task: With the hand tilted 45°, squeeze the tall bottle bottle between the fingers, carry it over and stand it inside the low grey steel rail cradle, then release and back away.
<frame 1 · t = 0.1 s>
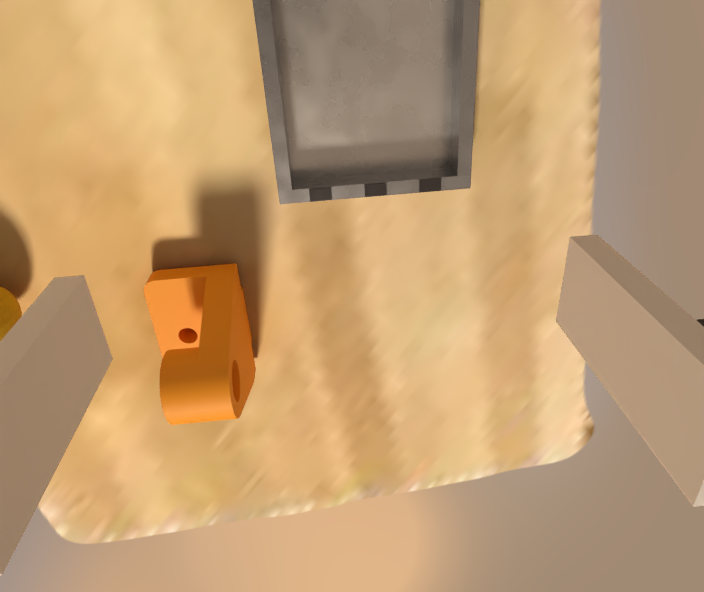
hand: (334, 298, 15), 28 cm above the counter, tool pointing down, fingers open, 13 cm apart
bracket: (206, 316, 47), on the counter
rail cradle: (366, 87, 39), on the counter
lemon: (3, 294, 45), on the counter
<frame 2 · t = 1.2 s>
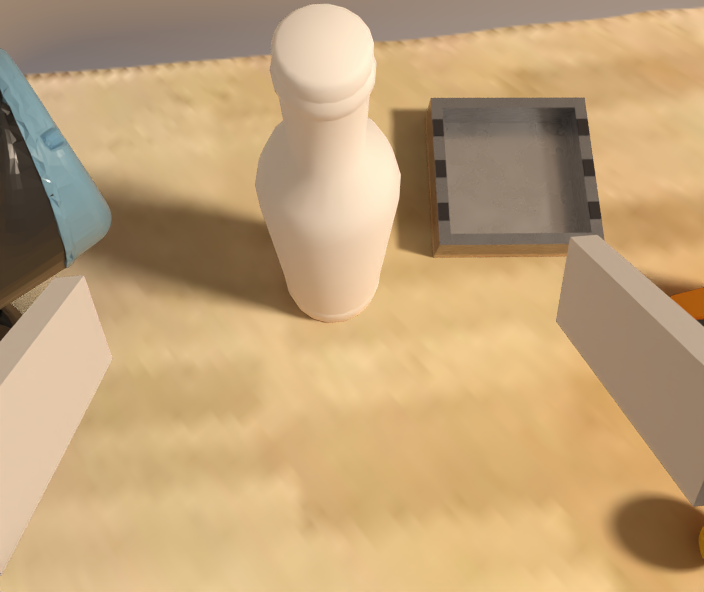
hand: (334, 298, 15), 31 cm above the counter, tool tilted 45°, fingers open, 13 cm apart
bottle: (332, 280, 48), on the counter
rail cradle: (503, 185, 50), on the counter
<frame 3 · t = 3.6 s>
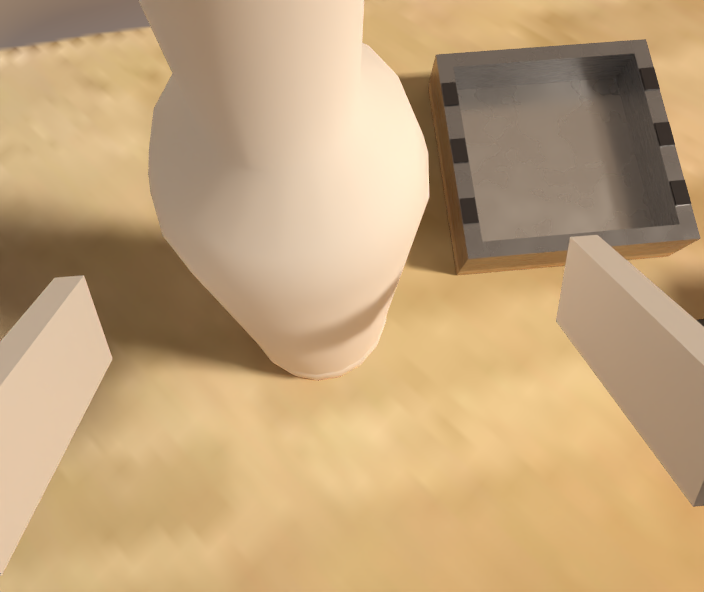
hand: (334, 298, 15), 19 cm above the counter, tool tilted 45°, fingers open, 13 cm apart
bottle: (320, 319, 34), on the counter
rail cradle: (543, 168, 37), on the counter
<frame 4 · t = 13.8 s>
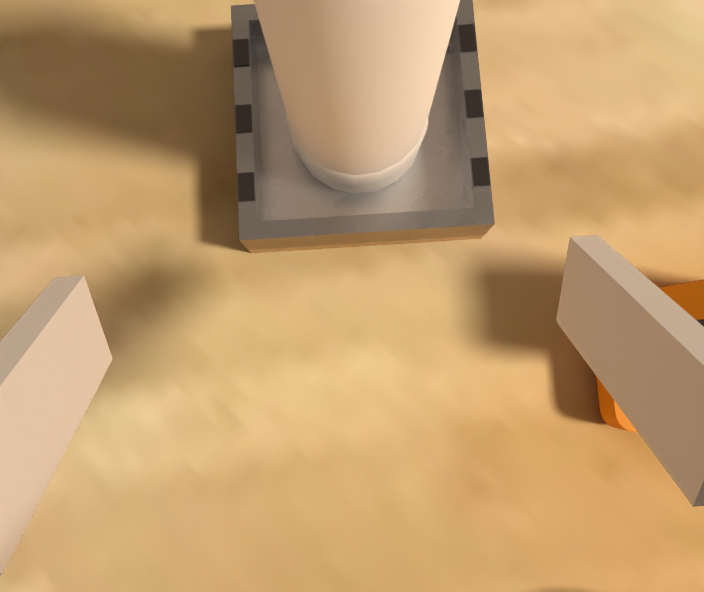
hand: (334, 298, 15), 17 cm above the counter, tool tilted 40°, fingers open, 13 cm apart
bottle: (357, 134, 33), point 1 cm above the counter, touching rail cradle
bracket: (678, 359, 32), on the counter
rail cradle: (358, 136, 34), on the counter
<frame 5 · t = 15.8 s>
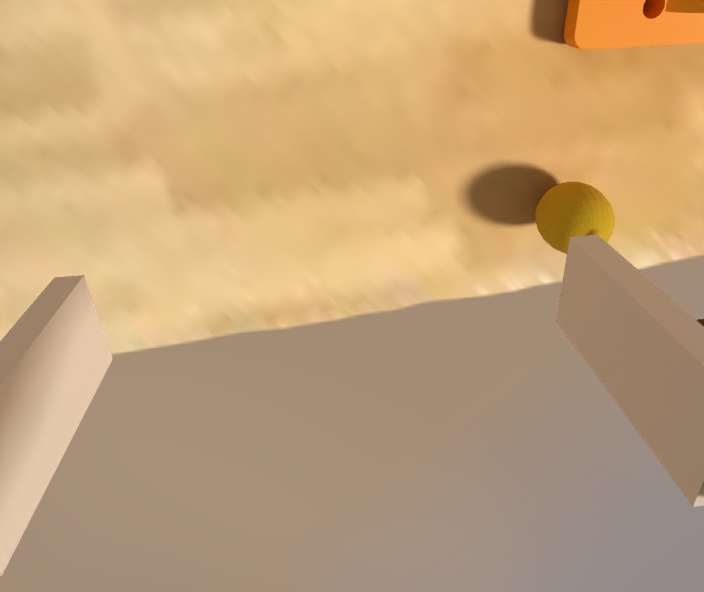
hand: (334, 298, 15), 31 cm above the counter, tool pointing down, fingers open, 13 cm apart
lemon: (552, 200, 47), on the counter
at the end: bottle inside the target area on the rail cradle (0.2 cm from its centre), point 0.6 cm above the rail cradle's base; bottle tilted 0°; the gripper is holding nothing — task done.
